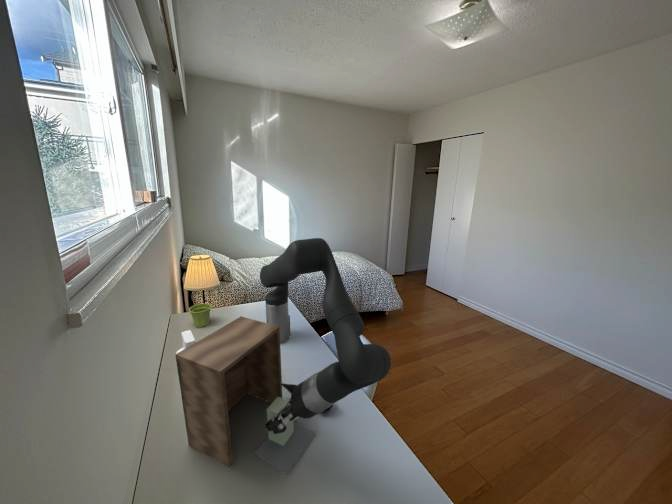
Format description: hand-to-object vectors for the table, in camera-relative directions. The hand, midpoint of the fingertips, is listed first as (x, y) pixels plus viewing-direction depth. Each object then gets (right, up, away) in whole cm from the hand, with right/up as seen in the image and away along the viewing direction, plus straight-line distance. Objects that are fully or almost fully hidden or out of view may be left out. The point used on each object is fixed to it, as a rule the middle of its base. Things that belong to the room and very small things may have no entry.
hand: (274, 419), depth 69 cm
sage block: (+2, -4, 0) cm, 5 cm away
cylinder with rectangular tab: (-37, +1, +30) cm, 48 cm away
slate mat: (+3, -7, 0) cm, 7 cm away
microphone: (+7, -3, +16) cm, 18 cm away
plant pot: (-48, +8, +59) cm, 76 cm away
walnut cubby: (-11, -5, +6) cm, 13 cm away
